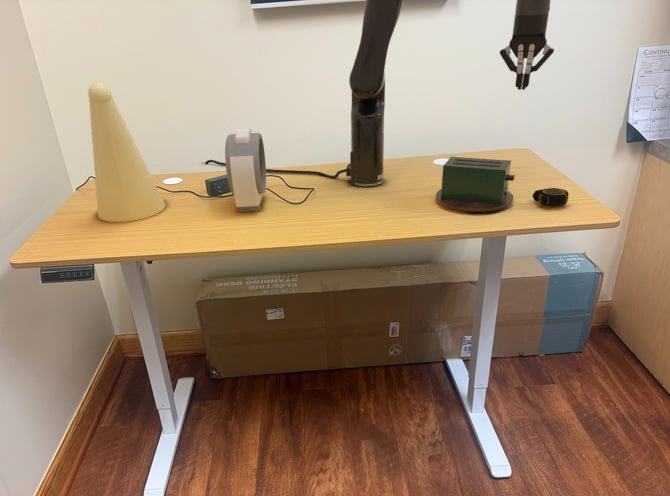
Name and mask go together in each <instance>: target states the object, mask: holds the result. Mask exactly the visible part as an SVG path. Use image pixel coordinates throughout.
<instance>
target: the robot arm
mask: <svg viewBox="0 0 670 496" xmlns="http://www.w3.org/2000/svg"><path fill="white" fill-rule="evenodd" d="M404 1H405V0H365V5H364V11H363V17H362V18H363V19H362V26H361V36H360V40H359V41H360V42H359V45H358V49H357V52H356V56H355V59H354V63H353V65H352V68H351V70H350V72H349V73H350V74H349V78H348V85H349V88H350V91H351V106H350V107H351V108H350V142H351V143H350V147H351V149H350V153H349V157H350V158H349V161H350V163H348V164H347V166H346V168H344V169H340V170H338V171H336V173H335V174H334V175H329V174H326V173H324V172H321V171H315V170H293V169H271V168H270V169H269V168H266V173H282V174H305V175H306V174H307V175H319V176H323V177H325V178H329V179H338V177H339V175H341V174H343V173H346V175H345V176H346V177H350V185H351V186H356V187H362V188H363V187H364V188H365V187H367V188H371V187H376V186H380V185H382V184H383V183H384V181H385V180H384V161H385V160H384V156H385V153H384V151H385V149H384V147H385V110H386V109H385V106H386V103H385V102H386V73H385V69H386V61H387V57H388V56H387V55H388V51H389V46H390V42H391V40H392V37H393V34H394V32H395V28H396V26H397V24H398V21H399V17H400V15H401V11H402V7H403V5H404ZM550 9H551V0H516V4H515V10H514V11H515V12H514V21H513V27H512V28H513V29H512V36H511V38H510V40H509V43H508V45H507V46H505V48H502V49H500V51H499V55H500V56H501V59H502V60H503V61H504V63H505V65H506V66H507V68H508V70H509V71H510V72H513V73H515V74H516V77H515V84H514V85H515V88H517V90H518V91H520V90H522V91H525V90H526V88H528V87H529V85H530V81H531V80H530V78H531V73H534V72H537V71H538V70H539V69H540V68H541V67H542V66H543V65H544V64H545V63H546V62H547V60H549V58H550V57H551V56H552V55H553V54H554V53H555V49H554V47H551V46H550V45H549V44H548V40H547V38H546V35H547V29H548V28H547V27H548V20H549V14H550ZM542 50H543V51H542ZM541 51H542V57H541V58H540V60H538V62H537V63H536V64H534V65H533V63H534V59H535V58H536V57H537V56H538V55H539V54H540V53H541ZM512 53H513V55H514V56H515V57H516V59H517V60H516V63H515V62H514V61H513V59H512V57H511V54H512ZM525 59H526V63H525ZM524 64H525V65H524ZM524 66H525V69H524ZM210 163H214V164H216V165H219V166H225V167H226V162H221V161H217V160H214V159H207V160H206V161H205V162H204V165H208V164H210Z"/></svg>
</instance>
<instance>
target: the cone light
mask: <svg viewBox="0 0 670 496" xmlns="http://www.w3.org/2000/svg"><path fill="white" fill-rule="evenodd" d="M87 95H88V103H89V114H90V115H89V116H90V128H91V129H90V130H91V141H92V142H91V144H92V152H93V153H92V156H93V167H94V180H95V191H96V192H95V193H96V194H95V195H96V205H97V217H98V218H99V219H100V220H102V221H104V222H111V223H126V222H133V221H138V220H139V221H140V220H143V219H147V218H149V217H152V216H155V215H157V214H159V213H160V212H162V211H163V210H164V209H165V207H166V203H165V201H164V200H163V199H164V198H163V197H162V195H161V193H160V191H159V190H158V189H159V188H158V187H157V185H156V183H155V181H154V179H153V177H152V175H151V173H150V170H149V169H148V167H147V164H146V163H145V161H144V159H143V156H142V155H141V152H140V150H139V148H138V146H137V144H136V142H135V140H134V138H133V136H132V134H131V132H130V130H129V128H128V126H127V124H126V122H125V120H124V118H123V115H122V114H121V112H120V110H119V107H118V105H117V103H116V101H115V99H114V97H113V95H112V91H111V89H110V88H109V86H108V85H107V84H105V83H104V82H101V81H100V82H97V81H96V82H93V83H92V84H91V85H89V87H88V90H87Z"/></svg>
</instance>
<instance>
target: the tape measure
mask: <svg viewBox="0 0 670 496" xmlns="http://www.w3.org/2000/svg"><path fill="white" fill-rule="evenodd" d="M532 198H533V201H534V202H536V203H539V204H540V205H541V206H543V207H549V208H558V207H563V206H566V205H567V203H568V200H569V191H568V190H566V189H563V188H557V187H549V188H548V187H547V188H542V189H536V190H534V192H533V193H532Z"/></svg>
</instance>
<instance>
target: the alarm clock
mask: <svg viewBox="0 0 670 496" xmlns="http://www.w3.org/2000/svg"><path fill="white" fill-rule="evenodd" d="M265 154H266V153H265V146H264V140H263V136H262V134H261V133H260V132H253V131H252V129H251V128H250V127H245V128H238V129H236V131H235V133H233V134H232V133H231V134H228V135H227V136H226V140H225V145H224V156H225V158H224V159H225V160H224V161H225V162H224V163H226V166H225V172H226V179H227V183H228V187H229V190H230V193H231V194H232V195H233V196H234V202H235V207H236V208H238V210H239V211H238V212H239V213H249V212H260V209H261V206H262V202H263V198H264V197H263V195H264V193H266V188H267V172H266V169H267V167H266V164H267V163H266V155H265Z"/></svg>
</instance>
